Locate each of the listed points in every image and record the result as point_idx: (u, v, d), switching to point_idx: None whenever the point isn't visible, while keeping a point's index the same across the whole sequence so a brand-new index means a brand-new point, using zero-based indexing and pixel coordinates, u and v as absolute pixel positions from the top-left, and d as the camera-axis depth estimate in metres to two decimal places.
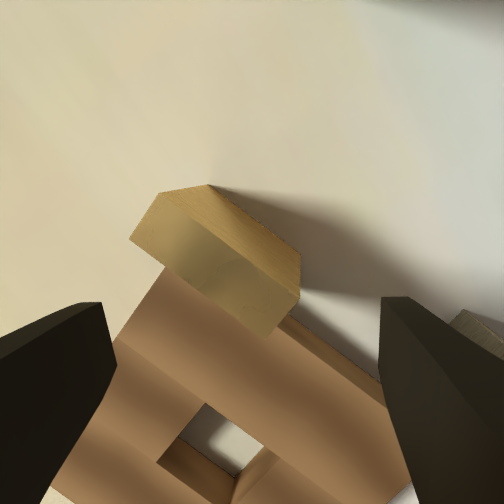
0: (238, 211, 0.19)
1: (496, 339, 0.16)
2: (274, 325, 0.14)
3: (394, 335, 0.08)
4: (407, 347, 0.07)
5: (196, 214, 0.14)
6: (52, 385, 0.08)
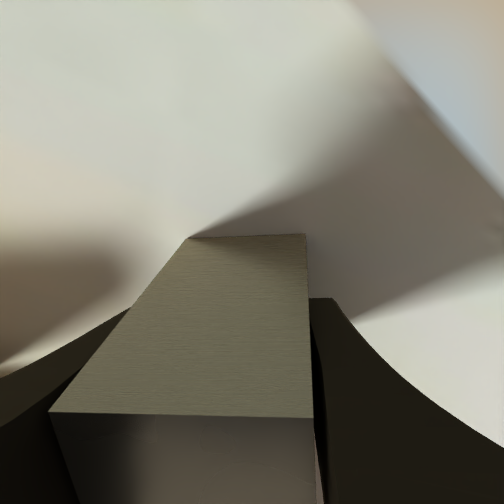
0: None
1: (144, 294, 0.09)
2: None
3: None
4: (313, 347, 0.07)
5: None
6: None
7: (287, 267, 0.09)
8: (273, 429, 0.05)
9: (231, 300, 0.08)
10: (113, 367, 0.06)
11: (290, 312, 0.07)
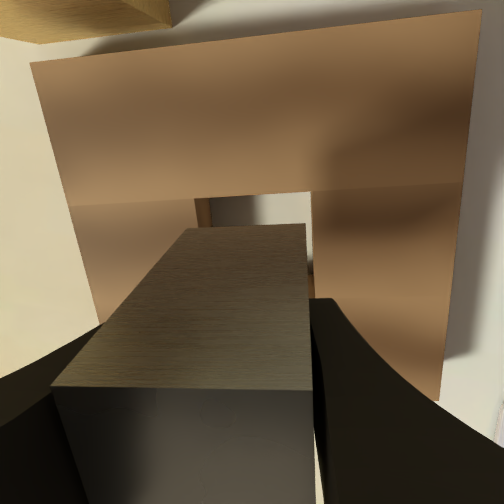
0: None
1: (145, 278, 0.09)
2: None
3: None
4: (313, 347, 0.07)
5: None
6: None
7: (286, 254, 0.09)
8: (272, 404, 0.05)
9: (231, 284, 0.08)
10: (114, 345, 0.06)
11: (289, 295, 0.07)
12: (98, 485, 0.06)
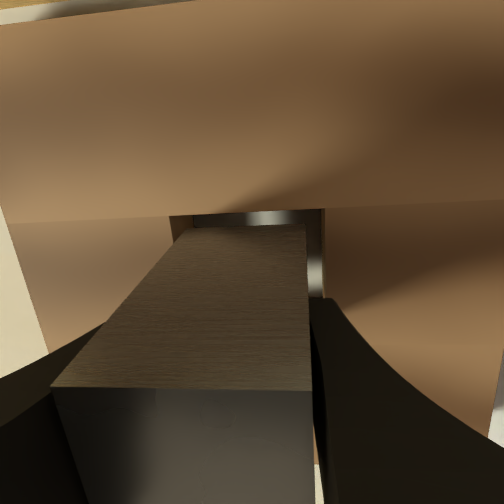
0: None
1: (145, 279, 0.09)
2: None
3: None
4: (313, 347, 0.07)
5: None
6: None
7: (286, 254, 0.09)
8: (272, 403, 0.05)
9: (231, 284, 0.08)
10: (113, 346, 0.06)
11: (289, 295, 0.07)
12: (98, 485, 0.06)
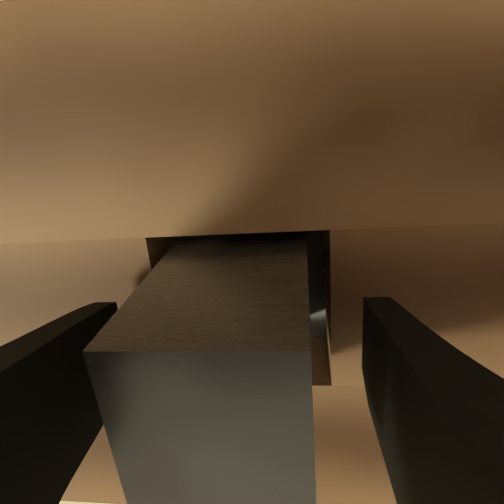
0: None
1: (158, 264, 0.09)
2: None
3: (374, 335, 0.08)
4: (384, 347, 0.07)
5: None
6: (69, 386, 0.08)
7: (288, 241, 0.10)
8: (276, 363, 0.06)
9: (238, 268, 0.09)
10: (135, 319, 0.07)
11: (290, 276, 0.08)
12: (122, 442, 0.07)
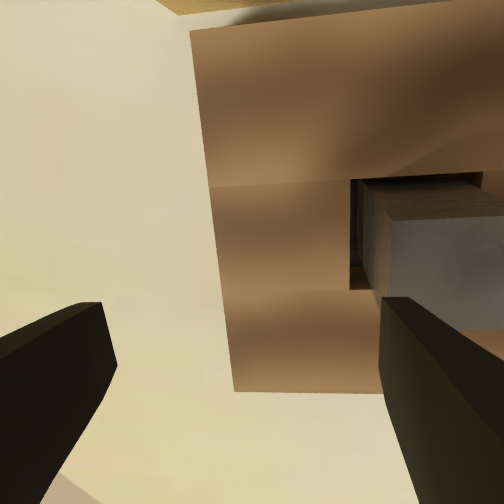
0: None
1: (371, 193, 0.14)
2: None
3: (394, 335, 0.08)
4: (407, 347, 0.07)
5: None
6: (52, 385, 0.08)
7: (451, 180, 0.15)
8: None
9: (434, 191, 0.13)
10: (402, 211, 0.12)
11: (477, 193, 0.13)
12: (398, 282, 0.12)
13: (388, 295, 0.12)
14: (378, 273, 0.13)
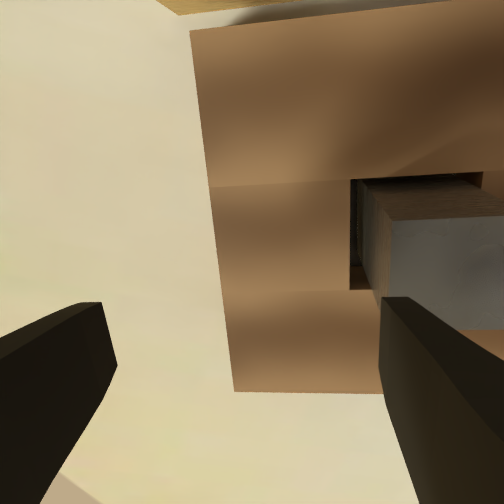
0: None
1: (371, 193, 0.14)
2: None
3: (394, 335, 0.08)
4: (407, 347, 0.07)
5: None
6: (52, 385, 0.08)
7: (450, 180, 0.15)
8: None
9: (434, 192, 0.13)
10: (402, 211, 0.12)
11: (477, 193, 0.13)
12: (398, 282, 0.12)
13: (388, 295, 0.12)
14: (378, 273, 0.13)
